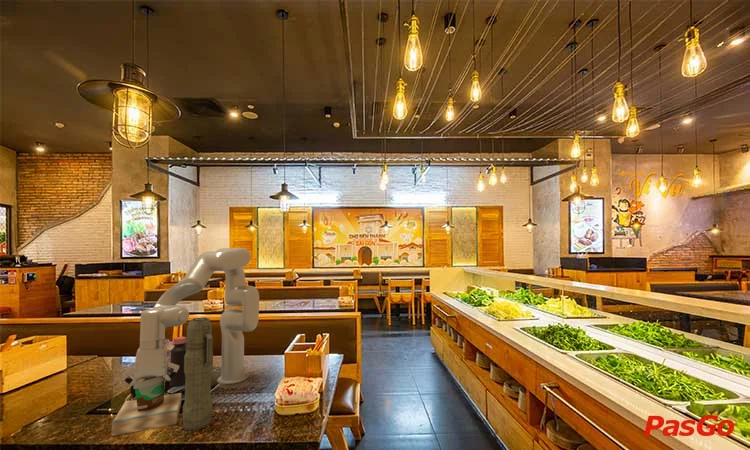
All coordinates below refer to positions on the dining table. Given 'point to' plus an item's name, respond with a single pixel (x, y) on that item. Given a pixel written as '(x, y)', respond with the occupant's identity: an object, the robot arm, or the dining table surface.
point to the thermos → (198, 374)
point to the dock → (146, 416)
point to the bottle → (178, 361)
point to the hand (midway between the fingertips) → (150, 393)
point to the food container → (149, 393)
